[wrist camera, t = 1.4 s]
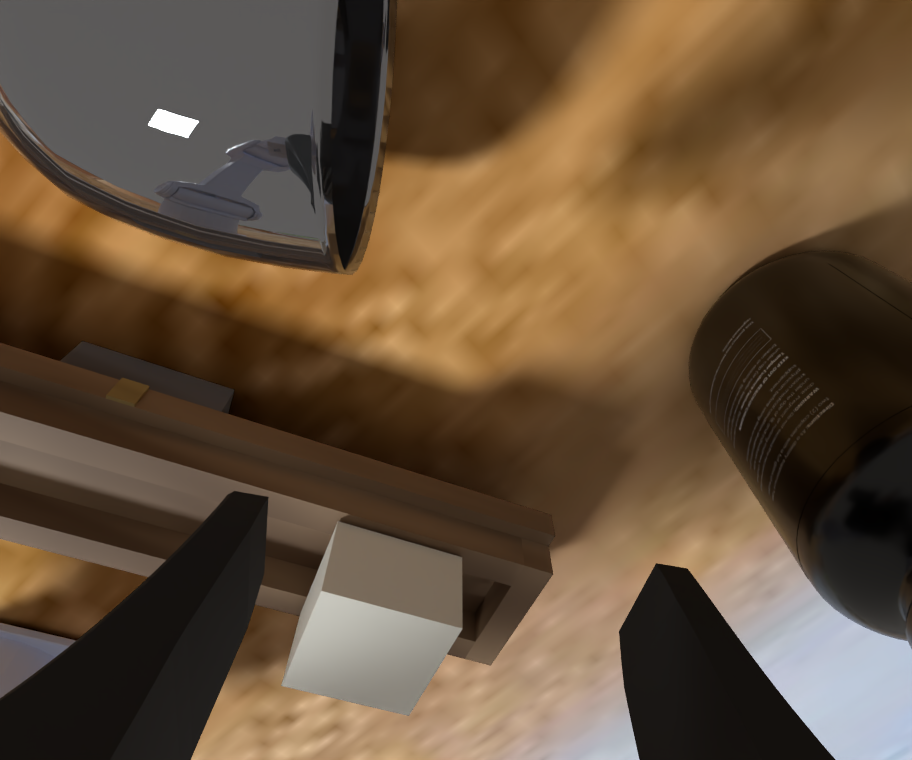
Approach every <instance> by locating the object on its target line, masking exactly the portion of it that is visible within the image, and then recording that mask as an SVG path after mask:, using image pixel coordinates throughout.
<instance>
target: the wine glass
mask: <svg viewBox="0 0 912 760" xmlns="http://www.w3.org/2000/svg"><path fill="white" fill-rule="evenodd" d="M396 14H397V0H0V132H1V134H2V135H3V136H4V137H5V138H6V139H7V140H8V141H9V142H10V144H11V145H12V146H13V147H14V148H15V149H16V150H17V151H18V152H19V153H20V155H21V156H22V157H23V158H24V159H25V160H26V161H27V162H28V163H30V164H31V165H32V166H33V167H34V168H35V169H36V170H38V171H39V172H40V173H41V174H42V175H43V176H45V177H46V178H47V179H48V180H49V181H50V182H52V183H53V184H54V185H55V186H56V187H58V188H59V189H60V190H61V191H62V192H63V193H65V194H66V195H67V196H69V197H70V198H72V199H74V200H76V201H78V202H80V203H81V204H83V205H85V206H87V207H89V208H91V209H93V210H95V211H97V212H99V213H101V214H103V215H105V216H107V217H109V218H111V219H113V220H115V221H117V222H120V223H122V224H125V225H128V226H130V227H133V228H136V229H138V230H141V231H144V232H146V233H149V234H152V235H154V236H157V237H160V238H162V239H165V240H169V241H172V242H176V243H179V244H183V245H186V246H190V247H193V248H197V249H200V250H204V251H207V252H211V253H214V254H218V255H221V256H225V257H231V258H236V259H242V260H247V261H252V262H258V263H263V264H269V265H274V266H280V267H285V268H293V269H301V270H309V271H316V272H324V273H332V274H346V275H353V274H354V273H355V272H356V271H357V270H358V268H359V266H360V264H361V262H362V260H363V257H364V254H365V251H366V248H367V245H368V241H369V238H370V234H371V230H372V226H373V221H374V217H375V212H376V207H377V201H378V196H379V191H380V184H381V178H382V171H383V165H384V157H385V150H386V142H387V133H388V124H389V115H390V104H391V94H392V82H393V68H394V54H395V36H396Z"/></svg>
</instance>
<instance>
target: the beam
mask: <svg viewBox="0 0 912 760" xmlns="http://www.w3.org/2000/svg"><path fill="white" fill-rule="evenodd" d="M233 394H234V389H231V388H228V387H224V386H221V385H218V384H215V383H212V382H209V381H206V380H203V379H199V378H196V377H193V376H190V375H187V374H184V373H181V372H178V371H174V370H171V369H168V368H165V367H162V366H159V365H156V364H153V363H150V362H146V361H143V360H140V359H137V358H134V357H131V356H128V355H125V354H121V353H118V352H115V351H112V350H109V349H106V348H103V347H100V346H96V345H93V344H90V343H87V342H84V341H82V342H81V343H80V344H79V345H77V346H76V347H75V348H74V349H73V350H72V351H71V352H69V353H68V354H67V355H66V356H65V357H64V358H63V359H61V360H60V361H57V360H54V359H51V358H48V357H45V356H41V355H38V354H35V353H32V352H29V351H25V350H22V349H19V348H16V347H13V346H9V345H6V344H3V343H0V539H3V540H7V541H11V542H14V543H18V544H22V545H26V546H30V547H34V548H38V549H42V550H45V551H49V552H53V553H57V554H61V555H65V556H69V557H73V558H76V559H80V560H84V561H88V562H92V563H96V564H100V565H103V566H107V567H111V568H115V569H119V570H123V571H127V572H131V573H134V574H138V575H142V576H146V577H149V576H150V575H151V574H152V573H153V572H155V571H156V570H157V569H158V568H159V567H160V566H161V565H162V564H163V563H164V562H165V561H166V560H167V559H168V558H169V557H170V556H171V555H172V554H173V553H174V552H175V551H176V550H177V549H178V548H179V547H180V546H181V545H182V544H183V543H184V542H185V541H186V540H187V539H188V538H189V537H190V536H191V535H192V534H193V533H194V532H195V531H196V529H197V528H198V527H199V526H200V525H201V524H202V523H203V522H204V521H205V520H206V519H207V518H208V516H209V515H210V514H211V513H212V512H213V511H214V510H215V509H216V508H217V506H218V505H219V504H220V503H221V502H222V501H223V499H224V498H225V497H226V496H227V495H228V494H230V493H231V492H233V491H238V492H244V493H249V494H255V495H261V496H267V497H269V498H268V516H267V534H266V552H265V570H264V576H263V580H262V583H261V586H260V589H259V593H258V596H257V599H256V602H255V605H258V606H262V607H266V608H270V609H274V610H278V611H282V612H285V613H289V614H293V615H297V616H300V613H301V611H302V608H303V606H304V603H305V601H306V598H307V596H308V593H309V591H310V588H311V586H312V584H313V581H314V579H315V576H316V574H317V571H318V569H319V566H320V564H321V561H322V559H323V557H324V554H325V552H326V549H327V547H328V544H329V542H330V539H331V537H332V534H333V532H334V529H335V527H336V525H337V522H338V521H339V522H342V523H346V524H349V525H353V526H356V527H360V528H363V529H366V530H370V531H373V532H377V533H380V534H384V535H387V536H391V537H394V538H397V539H401V540H404V541H408V542H411V543H415V544H418V545H422V546H425V547H428V548H432V549H435V550H439V551H442V552H446V553H449V554H453V555H456V556H459V557H462V624H463V629H462V630H461V632H460V634H459V635H458V637H457V638H456V640H455V642H454V643H453V645H452V647H451V648H450V650H449V651H448V653H447V654H448V655H452V656H456V657H460V658H464V659H467V660H471V661H475V662H479V663H483V664H487V665H491V664H492V663H493V661H494V660H495V659H496V657H497V656H498V654H499V653H500V651H501V650H502V648H503V647H504V645H505V644H506V642H507V641H508V639H509V638H510V637H511V635H512V634H513V632H514V631H515V629H516V628H517V626H518V625H519V623H520V622H521V620H522V619H523V618H524V616H525V615H526V613H527V612H528V610H529V609H530V607H531V606H532V604H533V603H534V601H535V600H536V598H537V597H538V596H539V594H540V593H541V591H542V590H543V588H544V587H545V585H546V584H547V582H548V581H549V579H550V578H551V577H552V575H553V570H552V564H551V558H550V552H549V545H550V543H551V542H552V540H553V539H554V537H555V532H554V526H553V521H552V515H550V514H547V513H543V512H540V511H537V510H534V509H531V508H527V507H524V506H521V505H518V504H515V503H511V502H508V501H505V500H502V499H499V498H495V497H492V496H489V495H486V494H483V493H479V492H476V491H473V490H470V489H467V488H463V487H460V486H457V485H454V484H451V483H447V482H444V481H441V480H438V479H435V478H431V477H428V476H425V475H422V474H419V473H415V472H412V471H409V470H406V469H403V468H399V467H396V466H393V465H390V464H387V463H383V462H380V461H377V460H374V459H371V458H367V457H364V456H361V455H358V454H355V453H351V452H348V451H345V450H342V449H339V448H336V447H332V446H329V445H326V444H323V443H320V442H316V441H313V440H310V439H307V438H304V437H300V436H297V435H294V434H291V433H288V432H284V431H281V430H278V429H275V428H272V427H268V426H265V425H262V424H259V423H256V422H252V421H249V420H246V419H243V418H240V417H236V416H233V415H230V414H228V413H229V409H230V405H231V401H232V398H233Z"/></svg>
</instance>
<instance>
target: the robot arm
mask: <svg viewBox="0 0 912 760" xmlns="http://www.w3.org/2000/svg"><path fill="white" fill-rule="evenodd" d="M268 498H269V497H267V496H261V495H255V494H249V493H244V492H238V491H233V492H231V493H230V494H228V495H227V496H226V497H225V498H224V499H223V501H222V502H221V503H220V504H219V505H218V506H217V508H216V509H215V510H214V511H213V512H212V513H211V514H210V515H209V516H208V518H207V519H206V520H205V521H204V522H203V523H202V524H201V525H200V526H199V527H198V528H197V529H196V531H195V532H194V533H193V534H192V535H191V536H190V537H189V538H188V539H187V540H186V541H185V542H184V543H183V544H182V545H181V546H180V547H179V548H178V549H177V550H176V551H175V552H174V553H173V554H172V555H171V556H170V557H169V558H168V559H167V560H166V561H165V562H164V563H163V564H162V565H161V566H160V567H159V568H158V569H157V570H156V571H155V572H153V573H152V574H151V575H150V576H149V577H148V578H147V579H146V580H145V581H144V582H143V583H142V584H141V585H140V586H139V587H138V588H137V589H135V590H134V591H133V592H132V593H131V594H130V595H129V596H128V597H126V598H125V599H124V600H123V601H122V602H121V603H120V604H119V605H117V606H116V607H115V608H114V609H113V610H112V611H111V612H109V613H108V614H107V615H106V616H105V617H104V618H103V619H102V620H100V621H99V622H98V623H97V624H96V625H95V626H93V627H92V628H91V629H90V630H89V631H87V632H86V633H85V634H84V635H83V636H81V637H80V638H79V639H78V640H72V639H68V638H63V637H59V636H55V635H51V634H46V633H42V632H38V631H34V630H29V629H25V628H21V627H17V626H12V625H8V624H4V623H0V760H191V757H192V755H193V753H194V750H195V748H196V746H197V743H198V741H199V739H200V736H201V734H202V732H203V730H204V727H205V725H206V723H207V720H208V718H209V716H210V713H211V711H212V709H213V707H214V704H215V702H216V700H217V697H218V695H219V693H220V690H221V688H222V686H223V684H224V681H225V679H226V677H227V674H228V672H229V670H230V667H231V665H232V663H233V660H234V658H235V656H236V653H237V651H238V649H239V647H240V644H241V642H242V640H243V637H244V635H245V632H246V630H247V627H248V624H249V621H250V618H251V615H252V612H253V609H254V606H255V602H256V599H257V596H258V593H259V589H260V586H261V583H262V580H263V576H264V570H265V552H266V534H267V516H268ZM619 636H620V649H621V662H622V671H623V680H624V688H625V693H626V698H627V703H628V708H629V713H630V718H631V722H632V727H633V732H634V736H635V741H636V745H637V750H638V755H639V759H640V760H835V759H834V758H833V756H832V755H831V754H830V753H829V752H828V751H827V750H826V748H825V747H824V746H823V745H822V744H821V743H820V741H819V740H818V739H817V738H816V737H815V735H814V734H813V733H812V732H811V731H810V729H809V728H808V727H807V726H806V725H805V723H804V722H803V721H802V720H801V719H800V717H799V716H798V715H797V714H796V712H795V711H794V710H793V709H792V708H791V706H790V705H789V704H788V703H787V701H786V700H785V699H784V698H783V696H782V695H781V694H780V693H779V691H778V690H777V689H776V687H775V686H774V685H773V684H772V682H771V681H770V680H769V678H768V677H767V676H766V675H765V673H764V672H763V671H762V669H761V668H760V667H759V665H758V664H757V663H756V661H755V660H754V659H753V657H752V656H751V655H750V653H749V652H748V651H747V649H746V648H745V647H744V645H743V644H742V643H741V641H740V640H739V638H738V637H737V636H736V634H735V633H734V632H733V630H732V629H731V627H730V626H729V625H728V623H727V622H726V621H725V619H724V618H723V616H722V615H721V614H720V612H719V611H718V610H717V608H716V607H715V605H714V604H713V603H712V601H711V600H710V598H709V597H708V596H707V594H706V593H705V592H704V590H703V589H702V587H701V586H700V585H699V583H698V582H697V581H696V579H695V578H694V577H693V575H692V574H691V573H690V571H689V570H688V569H686V568H681V567H675V566H669V565H663V564H657V563H656V565H655V566H654V568H653V570H652V572H651V574H650V576H649V577H648V579H647V581H646V583H645V585H644V587H643V588H642V590H641V592H640V594H639V596H638V598H637V599H636V601H635V603H634V605H633V607H632V609H631V610H630V612H629V614H628V616H627V618H626V620H625V621H624V623H623V625H622V627H621V629H620V631H619Z"/></svg>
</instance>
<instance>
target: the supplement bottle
mask: <svg viewBox="0 0 912 760" xmlns="http://www.w3.org/2000/svg"><path fill="white" fill-rule="evenodd" d="M689 379H690V385H691V389H692V392H693V395H694V397H695V400H696V402H697V404H698V406H699V407H700V409H701V411H702V413H703V414H704V416H705V418H706V419H707V421H708V423H709V424H710V426H711V428H712V429H713V431H714V432H715V434H716V436H717V437H718V439H719V440H720V442H721V443H722V445H723V447H724V448H725V450H726V451H727V453H728V454H729V456H730V457H731V459H732V461H733V462H734V464H735V465H736V467H737V468H738V470H739V472H740V473H741V475H742V476H743V478H744V479H745V481H746V483H747V484H748V486H749V487H750V489H751V490H752V492H753V494H754V495H755V497H756V498H757V500H758V501H759V503H760V505H761V506H762V508H763V509H764V511H765V512H766V514H767V516H768V517H769V519H770V520H771V522H772V523H773V525H774V527H775V528H776V530H777V531H778V533H779V534H780V536H781V538H782V539H783V541H784V542H785V544H786V545H787V547H788V549H789V550H790V552H791V553H792V555H793V556H794V558H795V560H796V561H797V563H798V564H799V566H800V567H801V569H802V570H803V572H804V574H805V575H806V577H807V578H808V579H809V580H810V582H811V583H812V585H813V586H814V587H815V589H816V590H817V591H818V593H819V594H820V595H821V596H822V598H823V599H824V600H825V601H826V602H828V603H829V604H830V605H831V606H832V607H833V608H834V609H835V610H837V611H838V612H840V613H841V614H842V615H844V616H845V617H847V618H848V619H850V620H852V621H854V622H855V623H857V624H859V625H861V626H863V627H865V628H867V629H870V630H872V631H875V632H877V633H880V634H882V635H885V636H889V637H892V638H896V639H900V640H905V641H908V642H909V645H910V646H911V648H912V283H911V282H909V281H908V280H906V279H904V278H902V277H901V276H899V275H897V274H895V273H894V272H892V271H890V270H888V269H886V268H884V267H882V266H881V265H879V264H877V263H875V262H873V261H870V260H868V259H866V258H863V257H861V256H857V255H854V254H850V253H845V252H836V251H813V252H804V253H799V254H794V255H791V256H787V257H784V258H781V259H778V260H775V261H773V262H770V263H768V264H766V265H764V266H762V267H760V268H758V269H756V270H754V271H753V272H751V273H749V274H748V275H746V276H745V277H743V278H742V279H740V280H739V281H738V282H736V283H735V284H734V285H733V286H731V287H730V288H729V289H728V290H727V291H726V292H725V293H724V294H723V295H722V296H721V297H720V298H719V299H718V300H717V301H716V302H715V304H714V305H713V306H712V307H711V309H710V310H709V311H708V313H707V314H706V316H705V317H704V319H703V321H702V323H701V325H700V326H699V328H698V331H697V333H696V335H695V338H694V341H693V344H692V347H691V352H690V357H689Z"/></svg>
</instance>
